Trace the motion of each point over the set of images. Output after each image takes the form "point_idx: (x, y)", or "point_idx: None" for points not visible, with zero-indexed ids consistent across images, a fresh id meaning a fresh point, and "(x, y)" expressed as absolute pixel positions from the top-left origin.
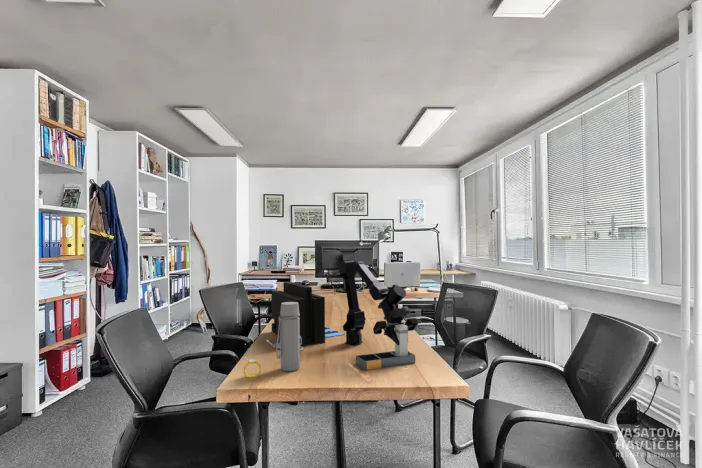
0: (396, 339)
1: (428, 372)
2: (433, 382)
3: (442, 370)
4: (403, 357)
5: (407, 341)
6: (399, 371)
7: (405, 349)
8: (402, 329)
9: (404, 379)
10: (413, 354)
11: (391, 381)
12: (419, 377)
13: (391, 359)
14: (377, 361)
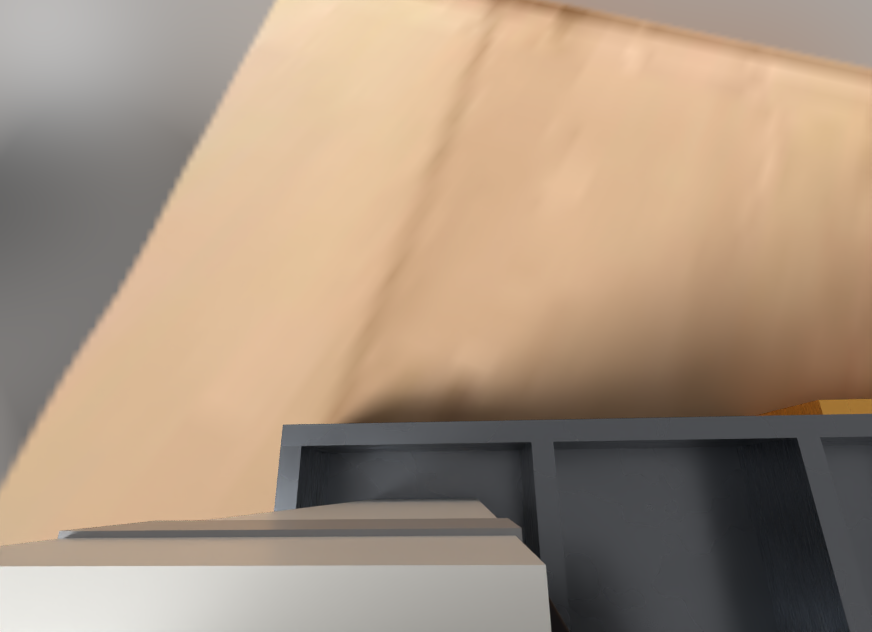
0: (555, 613)
1: (346, 203)
2: (433, 44)
3: (213, 207)
4: (464, 421)
5: (289, 510)
6: (574, 303)
7: (376, 503)
8: (345, 544)
9: (607, 136)
10: (289, 456)
11: (725, 131)
12: (475, 138)
13: (645, 418)
14: (864, 400)
